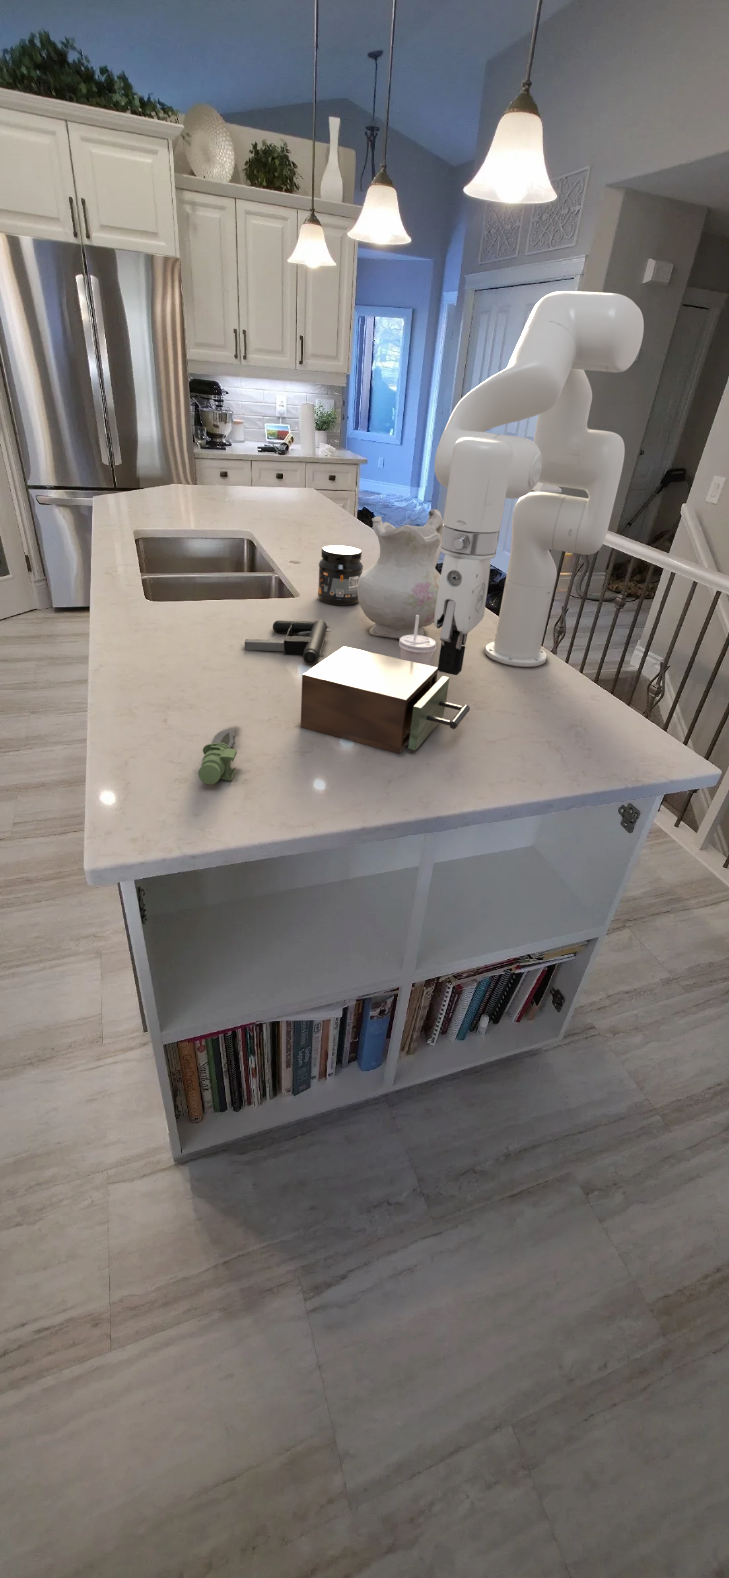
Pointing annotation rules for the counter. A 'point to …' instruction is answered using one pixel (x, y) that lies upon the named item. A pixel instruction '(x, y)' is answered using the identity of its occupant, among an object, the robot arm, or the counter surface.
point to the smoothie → (417, 647)
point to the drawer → (430, 712)
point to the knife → (218, 758)
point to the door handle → (294, 639)
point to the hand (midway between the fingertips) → (449, 671)
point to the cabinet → (362, 696)
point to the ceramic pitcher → (402, 578)
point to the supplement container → (339, 574)
